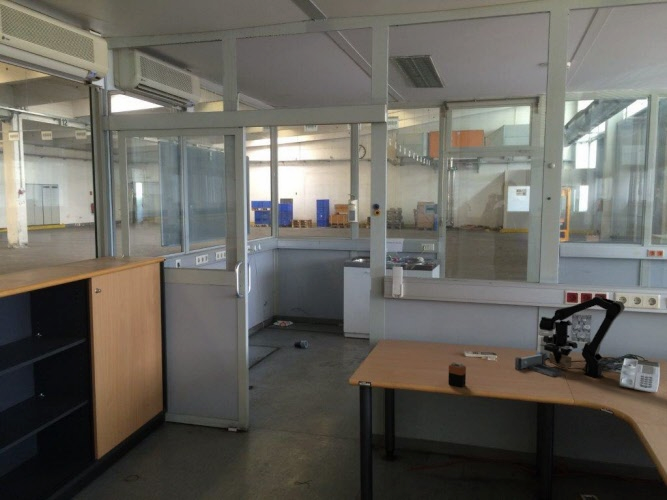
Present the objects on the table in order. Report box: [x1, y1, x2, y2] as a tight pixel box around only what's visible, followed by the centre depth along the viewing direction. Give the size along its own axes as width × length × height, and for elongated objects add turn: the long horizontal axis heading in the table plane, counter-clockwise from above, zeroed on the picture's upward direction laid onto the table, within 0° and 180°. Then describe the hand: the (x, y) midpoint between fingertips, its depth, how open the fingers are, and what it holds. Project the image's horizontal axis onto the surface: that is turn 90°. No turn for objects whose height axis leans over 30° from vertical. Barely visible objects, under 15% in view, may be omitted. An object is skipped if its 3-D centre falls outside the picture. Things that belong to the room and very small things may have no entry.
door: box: [520, 354, 542, 370], centre depth 260 cm, size 16×3×5 cm, turn 119°
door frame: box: [514, 352, 547, 371], centre depth 260 cm, size 20×2×6 cm, turn 119°
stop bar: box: [548, 353, 572, 369], centre depth 258 cm, size 10×4×5 cm, turn 28°
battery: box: [447, 362, 467, 388], centre depth 232 cm, size 4×7×10 cm, turn 51°
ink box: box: [536, 329, 555, 359], centre depth 278 cm, size 9×5×15 cm, turn 84°
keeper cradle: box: [527, 363, 564, 378], centre depth 253 cm, size 14×8×2 cm, turn 29°
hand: (560, 362), depth 258 cm, fingers closed on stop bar, 4 cm apart
